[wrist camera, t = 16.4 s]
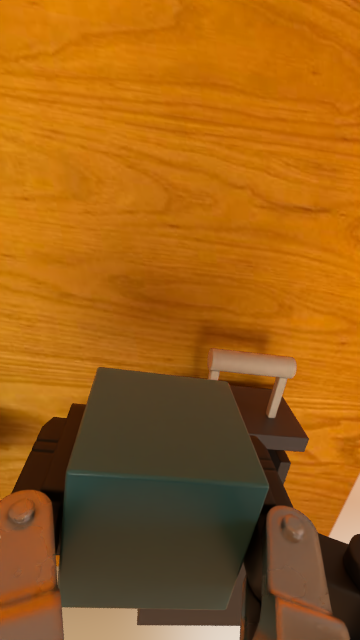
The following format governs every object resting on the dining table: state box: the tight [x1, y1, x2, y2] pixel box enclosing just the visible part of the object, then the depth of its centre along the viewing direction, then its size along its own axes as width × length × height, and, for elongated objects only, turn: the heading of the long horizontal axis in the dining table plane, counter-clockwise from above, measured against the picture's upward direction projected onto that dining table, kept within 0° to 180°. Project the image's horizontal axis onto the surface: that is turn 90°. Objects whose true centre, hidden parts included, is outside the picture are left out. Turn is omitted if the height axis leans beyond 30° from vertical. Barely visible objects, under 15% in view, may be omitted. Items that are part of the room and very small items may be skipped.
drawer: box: [208, 348, 309, 484], centre depth 27 cm, size 15×9×6 cm, turn 171°
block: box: [58, 367, 269, 610], centre depth 10 cm, size 4×4×4 cm
